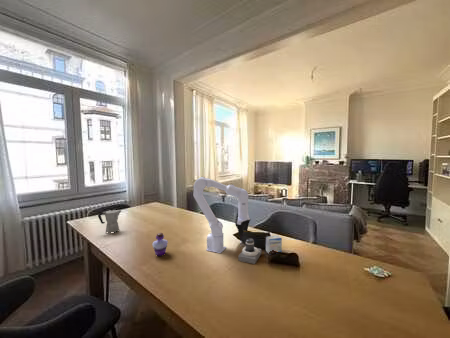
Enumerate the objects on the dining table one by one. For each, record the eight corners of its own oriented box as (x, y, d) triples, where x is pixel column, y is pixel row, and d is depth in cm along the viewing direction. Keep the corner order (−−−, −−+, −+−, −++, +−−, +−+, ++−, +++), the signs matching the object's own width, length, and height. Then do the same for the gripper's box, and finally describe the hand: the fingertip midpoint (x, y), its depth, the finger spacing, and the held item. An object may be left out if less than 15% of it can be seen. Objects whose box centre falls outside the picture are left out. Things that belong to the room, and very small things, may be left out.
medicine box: (269, 254, 117) (269, 239, 116) (265, 251, 121) (265, 236, 121) (281, 252, 119) (282, 237, 118) (277, 249, 123) (277, 234, 123)
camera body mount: (238, 260, 110) (238, 253, 110) (246, 250, 122) (246, 243, 122) (255, 264, 107) (255, 256, 106) (261, 253, 118) (261, 246, 118)
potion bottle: (171, 251, 121) (170, 231, 121) (163, 258, 113) (162, 237, 112) (158, 250, 124) (157, 230, 123) (149, 256, 115) (148, 235, 115)
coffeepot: (120, 227, 163) (119, 205, 161) (123, 231, 155) (122, 207, 154) (97, 232, 153) (96, 208, 152) (100, 236, 146) (98, 211, 144)
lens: (250, 255, 111) (250, 242, 110) (244, 252, 114) (244, 239, 113) (255, 252, 114) (255, 239, 114) (248, 249, 117) (248, 237, 117)
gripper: (245, 214, 114) (245, 238, 114) (253, 207, 127) (253, 229, 128) (233, 212, 117) (233, 236, 117) (242, 206, 130) (242, 228, 131)
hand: (243, 233), depth 123 cm, fingers open, 7 cm apart
